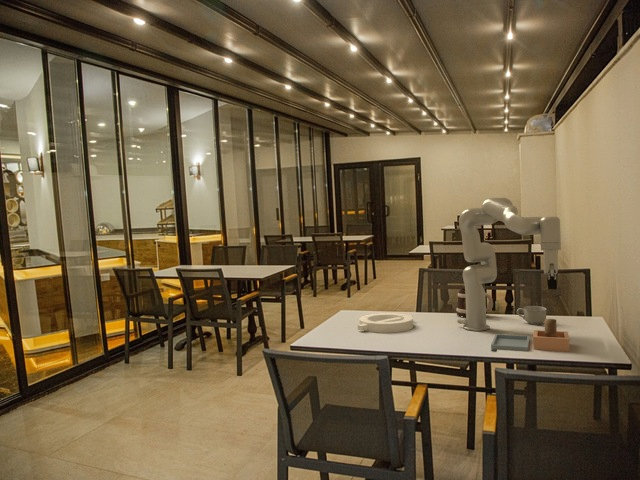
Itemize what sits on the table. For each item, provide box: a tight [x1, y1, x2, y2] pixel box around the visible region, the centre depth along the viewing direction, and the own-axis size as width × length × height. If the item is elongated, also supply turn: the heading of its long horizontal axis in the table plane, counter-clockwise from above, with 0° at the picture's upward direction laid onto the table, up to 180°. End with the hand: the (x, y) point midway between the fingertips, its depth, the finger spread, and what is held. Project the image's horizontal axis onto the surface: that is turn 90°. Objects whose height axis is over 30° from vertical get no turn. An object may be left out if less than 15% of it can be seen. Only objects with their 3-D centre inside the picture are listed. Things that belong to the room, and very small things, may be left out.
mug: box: [456, 287, 494, 318], centre depth 275 cm, size 20×15×15 cm
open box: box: [532, 329, 570, 352], centre depth 201 cm, size 13×13×6 cm
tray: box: [490, 333, 530, 352], centre depth 208 cm, size 14×20×2 cm
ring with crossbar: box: [357, 312, 414, 333], centre depth 257 cm, size 28×28×5 cm
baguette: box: [544, 318, 558, 337], centre depth 201 cm, size 4×4×11 cm
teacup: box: [516, 305, 547, 325], centre depth 250 cm, size 14×11×8 cm
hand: (552, 287), depth 202 cm, fingers open, 9 cm apart
